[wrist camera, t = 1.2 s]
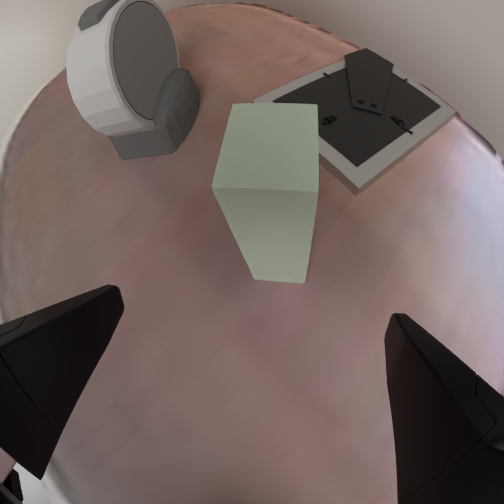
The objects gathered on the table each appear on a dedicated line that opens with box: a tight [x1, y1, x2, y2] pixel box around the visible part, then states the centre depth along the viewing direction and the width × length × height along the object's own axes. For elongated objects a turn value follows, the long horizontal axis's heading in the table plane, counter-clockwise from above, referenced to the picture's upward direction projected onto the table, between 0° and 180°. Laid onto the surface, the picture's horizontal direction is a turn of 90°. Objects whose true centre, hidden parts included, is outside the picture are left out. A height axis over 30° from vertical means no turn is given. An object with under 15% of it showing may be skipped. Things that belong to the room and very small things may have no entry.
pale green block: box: [211, 103, 319, 284], centre depth 17 cm, size 5×4×13 cm
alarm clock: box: [66, 0, 200, 160], centre depth 23 cm, size 16×10×18 cm, turn 176°
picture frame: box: [252, 48, 456, 196], centre depth 27 cm, size 16×3×21 cm
